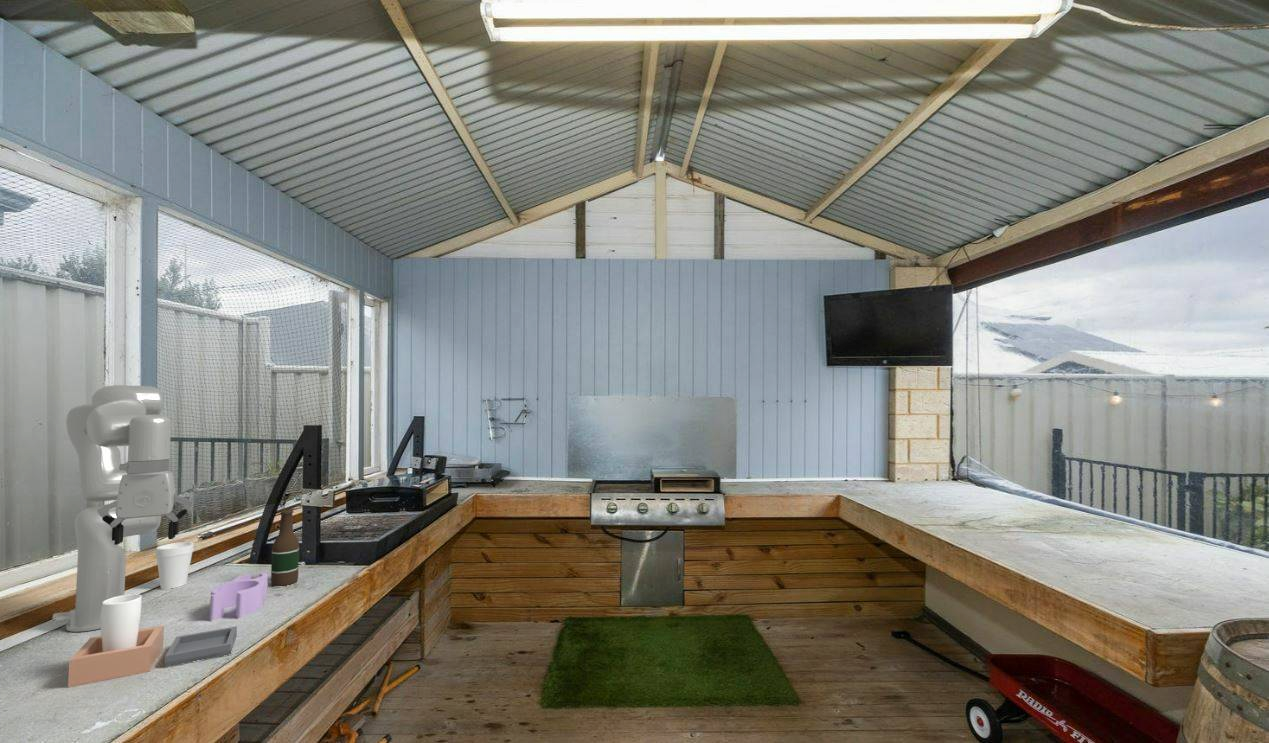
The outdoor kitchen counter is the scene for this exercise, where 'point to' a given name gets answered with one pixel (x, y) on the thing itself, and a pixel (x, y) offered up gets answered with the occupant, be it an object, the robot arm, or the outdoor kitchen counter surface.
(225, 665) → the outdoor kitchen counter surface
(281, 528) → the beer bottle
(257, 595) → the clip
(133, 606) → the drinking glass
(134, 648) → the terracotta holder
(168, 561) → the foam cup
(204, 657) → the charcoal tray
